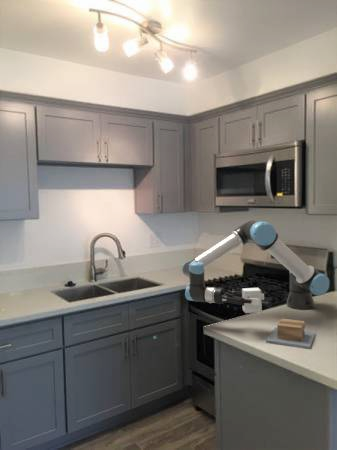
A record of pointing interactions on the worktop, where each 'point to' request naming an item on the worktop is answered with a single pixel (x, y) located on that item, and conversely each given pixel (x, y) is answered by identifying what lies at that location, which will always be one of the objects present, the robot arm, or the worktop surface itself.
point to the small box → (252, 294)
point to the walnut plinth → (291, 330)
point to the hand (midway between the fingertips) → (261, 299)
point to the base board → (304, 343)
